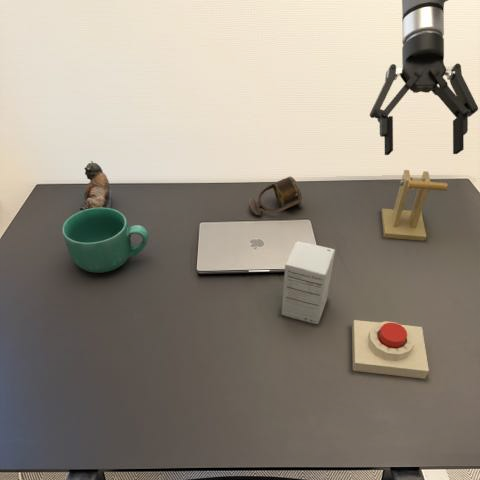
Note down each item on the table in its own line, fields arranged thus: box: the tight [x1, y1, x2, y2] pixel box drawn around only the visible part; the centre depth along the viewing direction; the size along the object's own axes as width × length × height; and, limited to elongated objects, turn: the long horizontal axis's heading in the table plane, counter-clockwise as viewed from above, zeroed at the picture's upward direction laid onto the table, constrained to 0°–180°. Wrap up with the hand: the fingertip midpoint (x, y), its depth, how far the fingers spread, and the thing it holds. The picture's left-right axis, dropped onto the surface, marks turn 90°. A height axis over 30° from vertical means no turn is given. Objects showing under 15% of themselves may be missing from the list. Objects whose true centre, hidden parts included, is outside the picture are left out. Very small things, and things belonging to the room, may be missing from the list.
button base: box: [351, 319, 430, 380], centre depth 81 cm, size 12×10×4 cm
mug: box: [61, 207, 149, 274], centre depth 97 cm, size 17×13×10 cm
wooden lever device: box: [380, 169, 432, 242], centre depth 104 cm, size 10×9×13 cm
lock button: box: [378, 322, 407, 348], centre depth 79 cm, size 4×4×2 cm
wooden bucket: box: [248, 175, 303, 216], centre depth 111 cm, size 7×13×10 cm
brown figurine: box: [78, 160, 113, 212], centre depth 110 cm, size 12×7×10 cm, turn 5°
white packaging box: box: [281, 240, 336, 325], centre depth 86 cm, size 7×7×13 cm
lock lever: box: [408, 176, 449, 192], centre depth 95 cm, size 13×7×2 cm, turn 172°
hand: (423, 152), depth 91 cm, fingers open, 13 cm apart
